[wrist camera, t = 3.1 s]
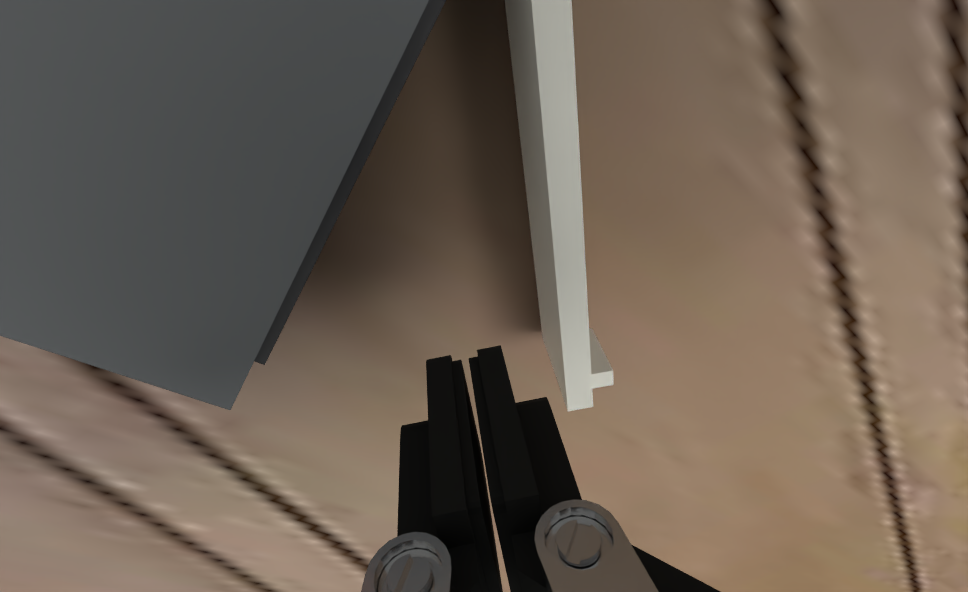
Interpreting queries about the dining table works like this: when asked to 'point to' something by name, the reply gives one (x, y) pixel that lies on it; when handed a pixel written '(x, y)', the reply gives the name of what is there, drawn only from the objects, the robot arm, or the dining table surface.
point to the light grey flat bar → (555, 191)
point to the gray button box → (183, 170)
